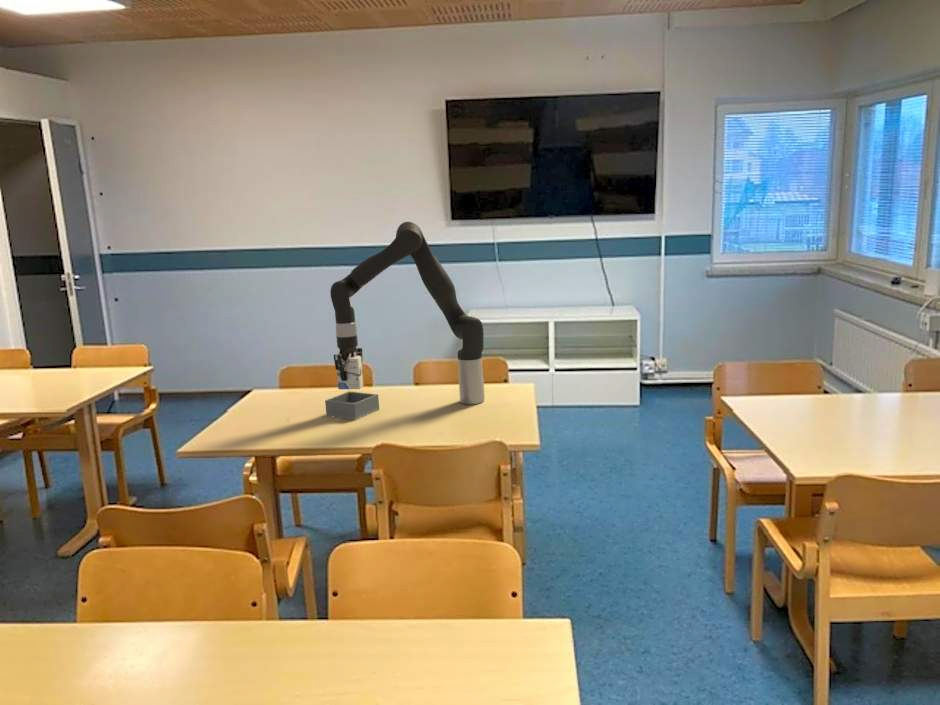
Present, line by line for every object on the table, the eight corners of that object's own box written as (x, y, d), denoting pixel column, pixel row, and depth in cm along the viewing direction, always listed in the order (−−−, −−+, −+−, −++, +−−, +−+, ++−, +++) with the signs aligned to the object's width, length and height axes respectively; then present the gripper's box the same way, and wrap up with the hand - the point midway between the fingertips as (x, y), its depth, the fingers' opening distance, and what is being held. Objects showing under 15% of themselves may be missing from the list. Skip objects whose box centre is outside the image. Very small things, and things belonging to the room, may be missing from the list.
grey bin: (350, 406, 285) (349, 391, 283) (379, 409, 278) (378, 394, 276) (326, 416, 273) (325, 400, 272) (356, 420, 266) (354, 404, 265)
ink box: (337, 390, 271) (335, 359, 269) (341, 386, 276) (339, 356, 274) (360, 389, 270) (357, 358, 268) (364, 385, 275) (361, 355, 273)
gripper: (341, 338, 261) (345, 383, 264) (366, 331, 273) (370, 374, 277) (325, 337, 265) (329, 382, 268) (350, 330, 277) (354, 373, 280)
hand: (350, 378), depth 272 cm, fingers closed on ink box, 6 cm apart
